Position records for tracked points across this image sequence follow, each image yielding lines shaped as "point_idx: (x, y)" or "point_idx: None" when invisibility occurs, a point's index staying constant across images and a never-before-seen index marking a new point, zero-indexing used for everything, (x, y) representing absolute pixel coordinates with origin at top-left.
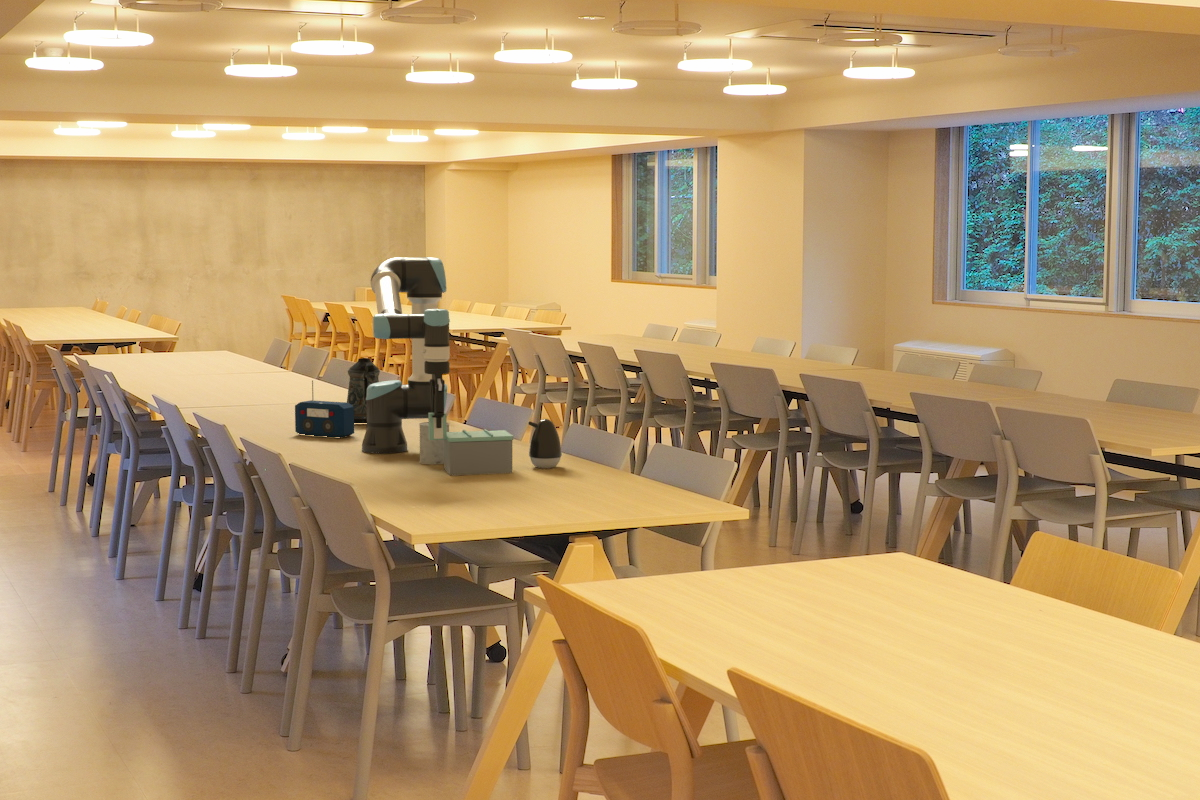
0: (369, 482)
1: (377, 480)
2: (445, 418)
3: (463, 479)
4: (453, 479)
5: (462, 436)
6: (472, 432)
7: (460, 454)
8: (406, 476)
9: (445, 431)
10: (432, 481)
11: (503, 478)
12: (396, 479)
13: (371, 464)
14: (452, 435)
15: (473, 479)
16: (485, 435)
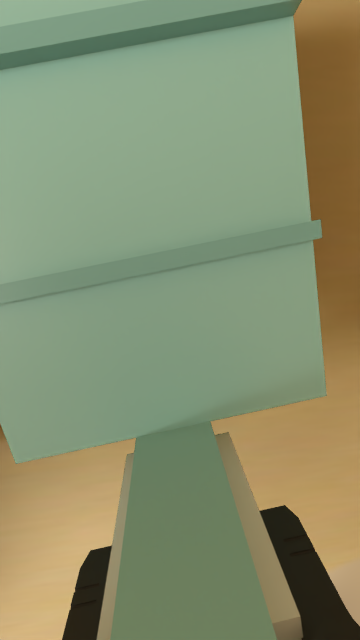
0: (337, 548)
1: (307, 533)
2: (254, 566)
3: (330, 269)
4: (325, 307)
5: (256, 300)
6: (7, 217)
7: None
8: (246, 465)
9: (217, 449)
10: (352, 376)
11: (333, 93)
12: (298, 486)
13: (5, 593)
14: (194, 380)
15: (336, 229)
16: (208, 79)
